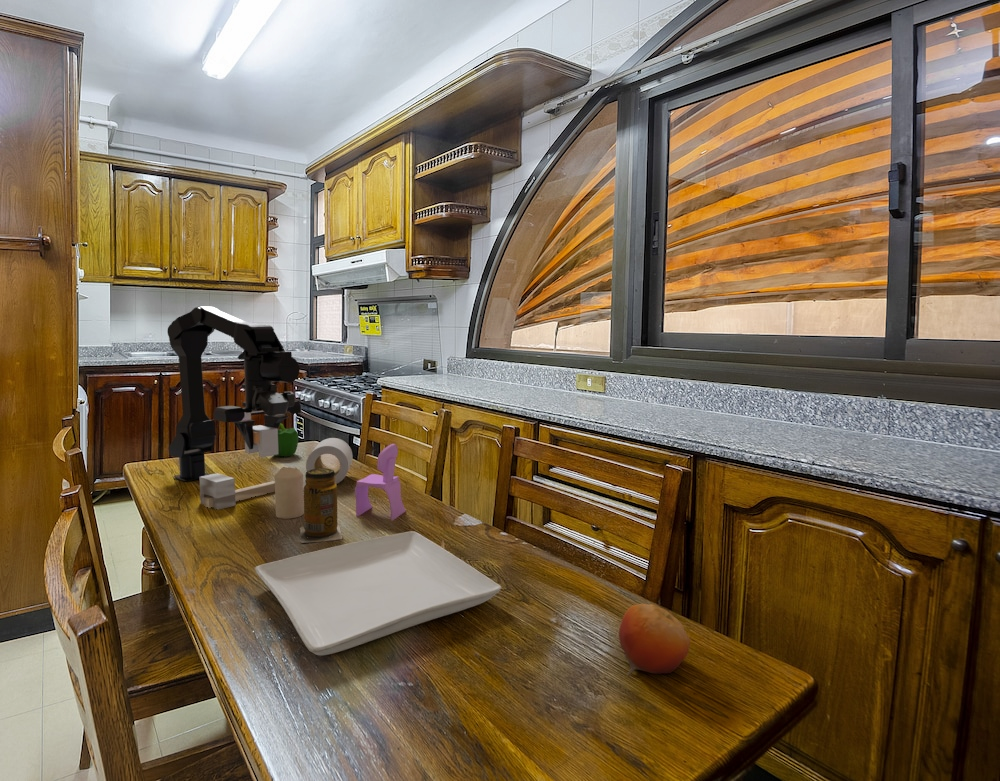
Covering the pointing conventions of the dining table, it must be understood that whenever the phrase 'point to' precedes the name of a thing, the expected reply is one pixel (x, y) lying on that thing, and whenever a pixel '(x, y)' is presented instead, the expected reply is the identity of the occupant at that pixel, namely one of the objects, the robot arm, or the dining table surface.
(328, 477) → the condiment
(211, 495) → the grey block with bar
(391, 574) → the square plate
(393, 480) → the toy chair
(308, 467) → the toilet paper
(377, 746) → the dining table surface
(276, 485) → the candle
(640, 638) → the fruit
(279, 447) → the bell pepper
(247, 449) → the white block orange stripe
